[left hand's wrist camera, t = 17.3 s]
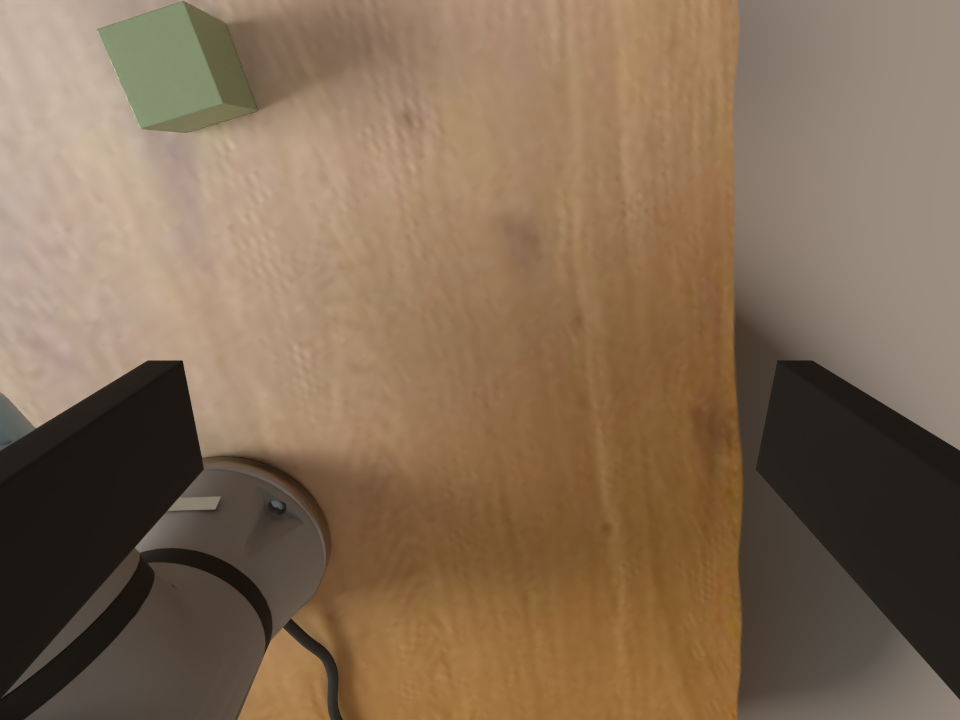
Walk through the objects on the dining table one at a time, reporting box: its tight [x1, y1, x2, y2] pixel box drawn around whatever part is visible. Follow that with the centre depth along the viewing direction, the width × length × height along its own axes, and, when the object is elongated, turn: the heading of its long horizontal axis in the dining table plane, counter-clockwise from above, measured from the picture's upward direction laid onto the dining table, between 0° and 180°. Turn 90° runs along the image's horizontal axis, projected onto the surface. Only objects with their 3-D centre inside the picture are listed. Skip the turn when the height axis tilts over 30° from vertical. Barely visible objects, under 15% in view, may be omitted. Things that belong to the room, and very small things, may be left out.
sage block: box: [97, 1, 258, 133], centre depth 32 cm, size 5×5×5 cm
